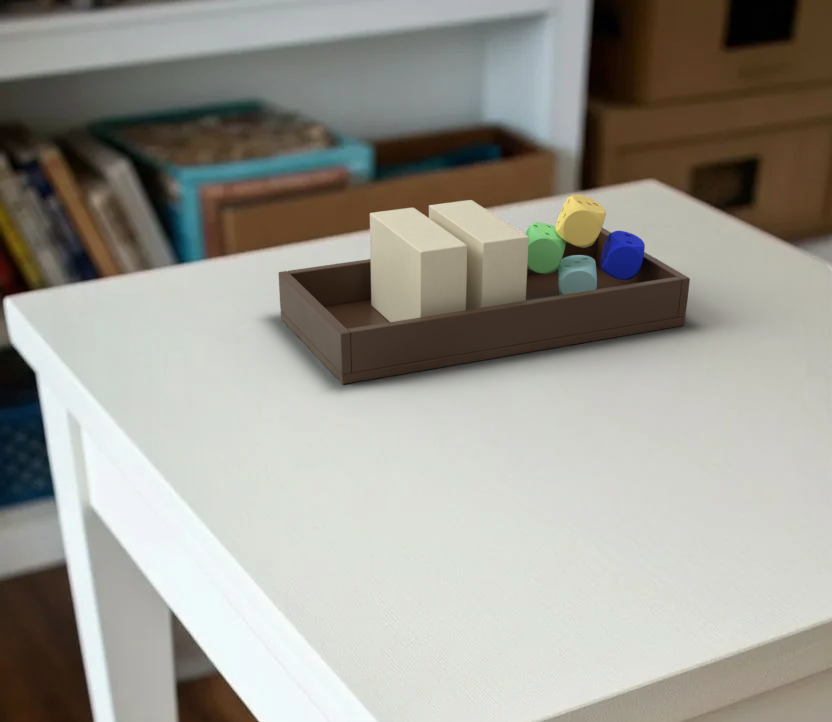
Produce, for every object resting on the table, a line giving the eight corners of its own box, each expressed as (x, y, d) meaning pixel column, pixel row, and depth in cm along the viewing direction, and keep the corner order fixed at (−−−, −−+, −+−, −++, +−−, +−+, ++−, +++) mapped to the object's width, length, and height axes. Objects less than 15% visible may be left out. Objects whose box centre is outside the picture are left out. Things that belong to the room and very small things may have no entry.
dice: (642, 281, 91) (642, 184, 87) (646, 296, 89) (646, 197, 85) (520, 290, 92) (515, 194, 88) (521, 305, 89) (516, 208, 86)
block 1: (413, 299, 90) (413, 206, 86) (465, 342, 84) (467, 245, 80) (370, 305, 89) (369, 212, 85) (420, 350, 83) (420, 251, 79)
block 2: (469, 290, 91) (471, 199, 88) (524, 332, 85) (529, 236, 82) (427, 296, 90) (428, 204, 87) (480, 340, 84) (483, 242, 81)
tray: (597, 270, 96) (600, 226, 94) (685, 325, 88) (690, 278, 86) (280, 318, 88) (278, 271, 87) (342, 384, 80) (340, 333, 78)
